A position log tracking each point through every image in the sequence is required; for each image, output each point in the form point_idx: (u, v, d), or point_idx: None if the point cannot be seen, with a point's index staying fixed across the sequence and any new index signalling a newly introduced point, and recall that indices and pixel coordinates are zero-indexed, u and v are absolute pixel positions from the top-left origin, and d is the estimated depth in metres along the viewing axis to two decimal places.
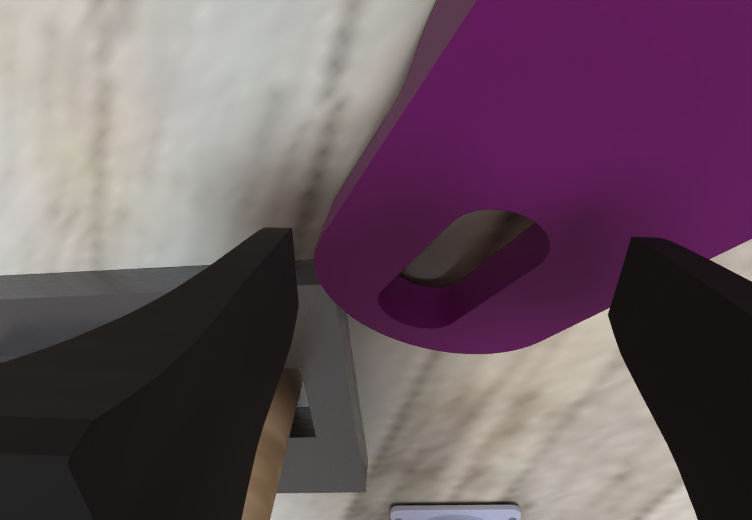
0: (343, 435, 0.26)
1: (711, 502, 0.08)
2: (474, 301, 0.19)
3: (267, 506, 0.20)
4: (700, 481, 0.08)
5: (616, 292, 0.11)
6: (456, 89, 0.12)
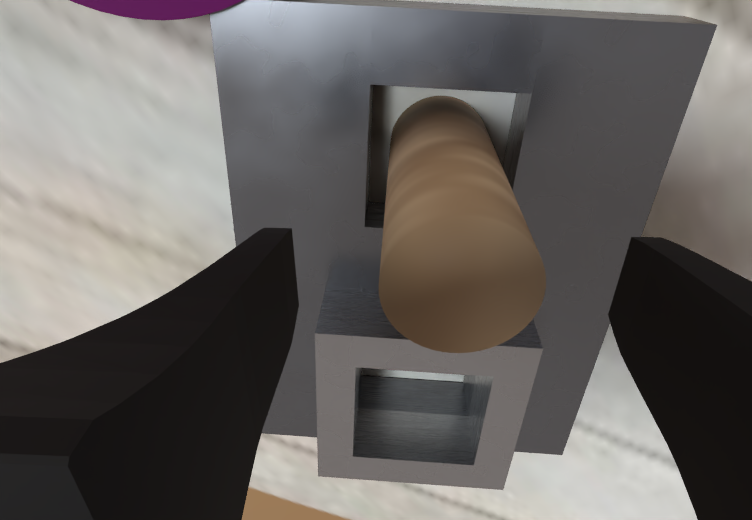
0: (540, 41, 0.14)
1: (711, 502, 0.08)
2: None
3: (451, 186, 0.11)
4: (700, 481, 0.08)
5: (616, 292, 0.11)
6: None
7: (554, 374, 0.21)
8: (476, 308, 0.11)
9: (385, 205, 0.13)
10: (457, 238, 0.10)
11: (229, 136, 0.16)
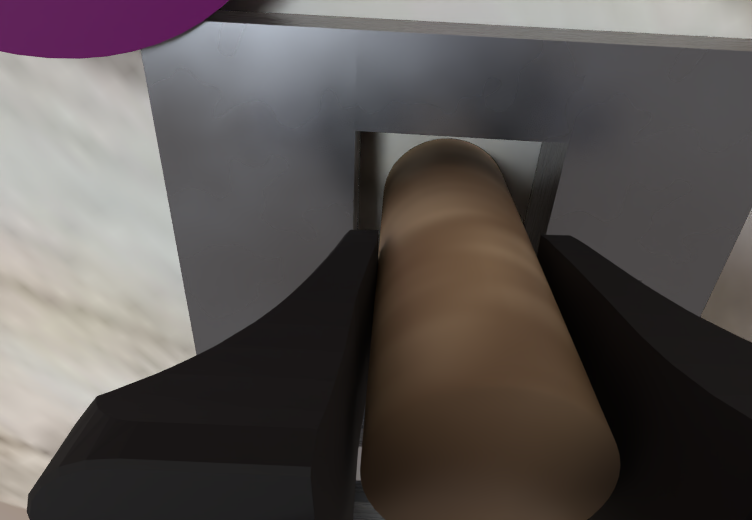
0: (582, 76, 0.11)
1: None
2: None
3: (470, 312, 0.07)
4: None
5: None
6: None
7: None
8: (509, 499, 0.07)
9: (374, 306, 0.10)
10: (483, 415, 0.06)
11: (174, 194, 0.13)
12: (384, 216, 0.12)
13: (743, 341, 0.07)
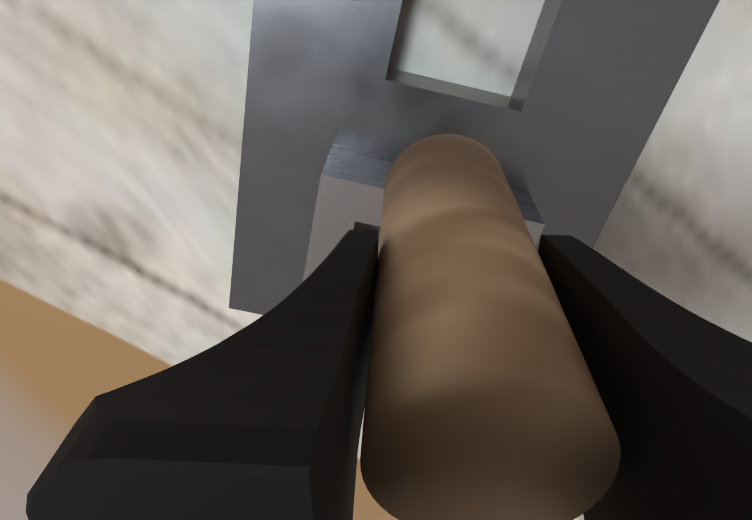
0: None
1: None
2: None
3: (472, 302, 0.07)
4: None
5: None
6: None
7: None
8: (509, 490, 0.07)
9: (374, 298, 0.10)
10: (485, 403, 0.06)
11: None
12: (385, 210, 0.12)
13: (744, 341, 0.07)
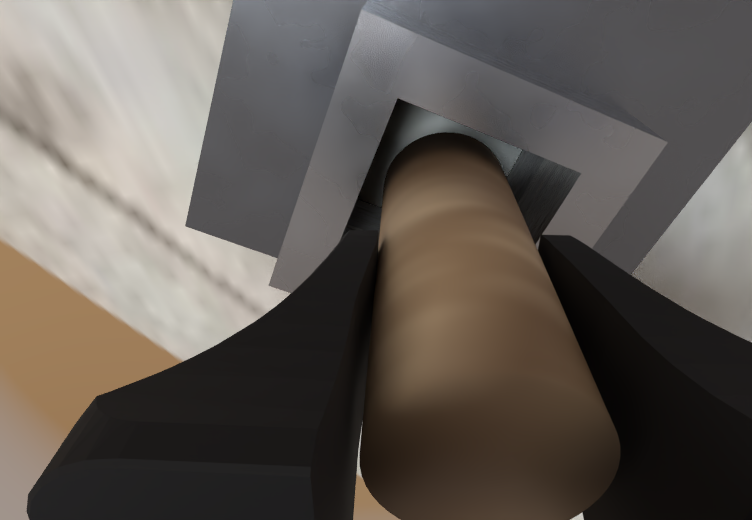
0: None
1: None
2: None
3: (474, 299, 0.07)
4: None
5: None
6: None
7: (610, 236, 0.16)
8: (507, 488, 0.07)
9: (374, 295, 0.10)
10: (486, 400, 0.06)
11: None
12: (385, 207, 0.12)
13: (744, 342, 0.07)
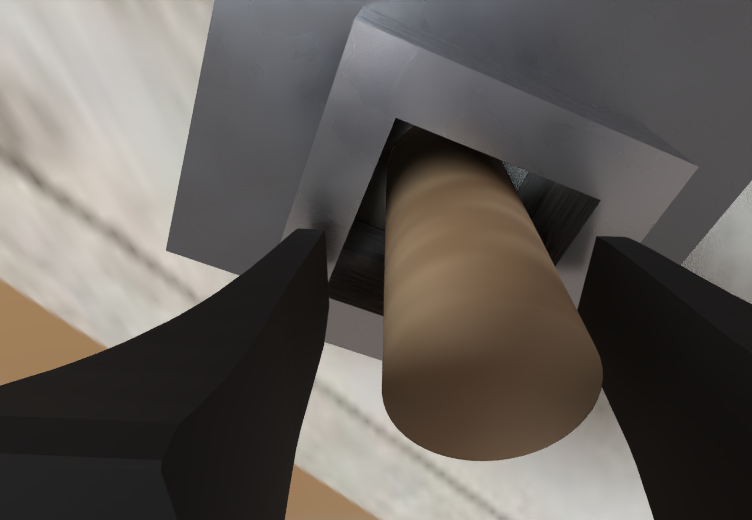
0: None
1: (665, 500, 0.08)
2: None
3: (477, 250, 0.08)
4: (655, 479, 0.08)
5: (583, 291, 0.11)
6: None
7: None
8: (508, 411, 0.08)
9: (385, 258, 0.11)
10: (491, 329, 0.07)
11: None
12: (390, 184, 0.13)
13: None
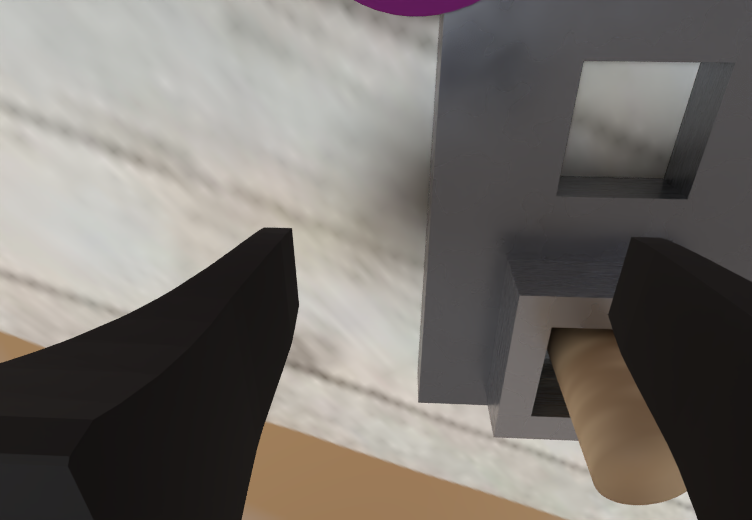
0: (750, 13, 0.16)
1: (711, 502, 0.08)
2: None
3: (619, 404, 0.17)
4: (700, 481, 0.08)
5: (616, 292, 0.11)
6: None
7: None
8: (660, 479, 0.17)
9: (565, 398, 0.20)
10: (639, 449, 0.16)
11: (443, 115, 0.18)
12: None
13: None
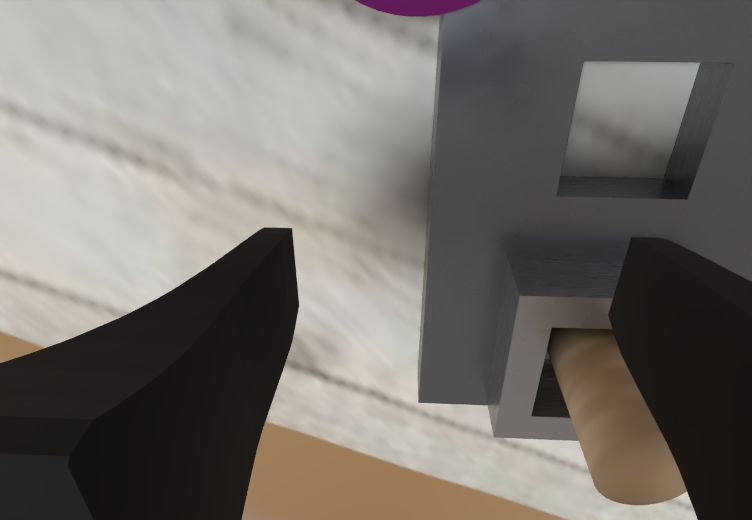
0: (750, 13, 0.16)
1: (711, 502, 0.08)
2: None
3: (619, 404, 0.17)
4: (700, 481, 0.08)
5: (616, 292, 0.11)
6: None
7: None
8: (660, 479, 0.17)
9: (565, 398, 0.20)
10: (639, 449, 0.16)
11: (443, 115, 0.18)
12: None
13: None
